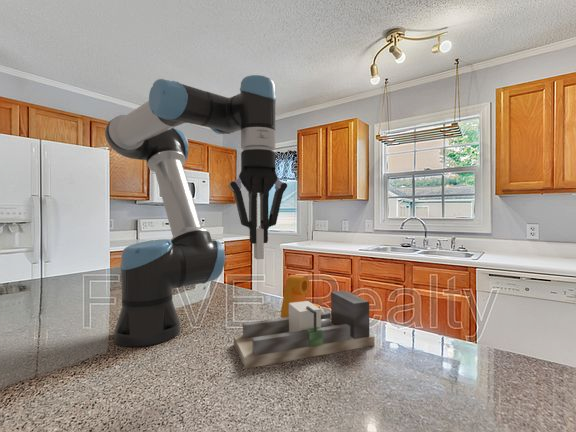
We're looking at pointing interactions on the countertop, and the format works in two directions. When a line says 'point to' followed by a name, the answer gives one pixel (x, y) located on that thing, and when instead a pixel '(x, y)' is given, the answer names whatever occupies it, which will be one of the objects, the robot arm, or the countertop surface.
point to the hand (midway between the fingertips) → (258, 258)
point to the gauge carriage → (305, 317)
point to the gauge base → (294, 353)
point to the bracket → (294, 292)
